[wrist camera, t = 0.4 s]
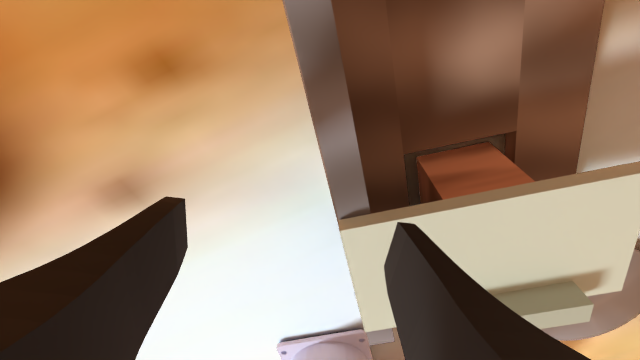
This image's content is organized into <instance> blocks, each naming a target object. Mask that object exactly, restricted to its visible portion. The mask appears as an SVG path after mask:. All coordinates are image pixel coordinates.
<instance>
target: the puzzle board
mask: <svg viewBox="0 0 640 360" xmlns="http://www.w3.org/2000/svg"><path fill="white" fill-rule="evenodd" d="M604 1H605V0H283V4H284V8H285V12H286V16H287V21H288V25H289V29H290V33H291V37H292V41H293V45H294V49H295V53H296V57H297V61H298V65H299V69H300V73H301V77H302V81H303V85H304V89H305V93H306V97H307V101H308V105H309V109H310V113H311V117H312V121H313V125H314V129H315V133H316V137H317V141H318V145H319V149H320V153H321V157H322V161H323V165H324V169H325V173H326V177H327V181H328V185H329V189H330V193H331V197H332V201H333V205H334V209H335V213H336V217H337V221H338V220H342V219H347V218H352V217H357V216H362V215H367V214H372V213H377V212H383V211H388V210H393V209H398V208H403V207H408V206H409V198H408V189H407V181H406V172H405V163H404V154H408V153H413V152H418V151H423V150H427V149H432V148H437V147H442V146H446V145H451V144H456V143H461V142H466V141H470V140H475V139H480V138H485V137H489V136H494V135H499V134H504V133H506V139H505V156H506V157H507V158H508V159H509V160H511V161H512V162H513V163H514V164H515V165H516V166H518V167H519V168H520V169H521V170H522V171H523V172H525V173H526V174H527V175H528V176H529V177H530V178H532V179H533V180H534V181H535V182H536V181H541V180H546V179H552V178H557V177H562V176H567V175H572V174H576V169H577V163H578V157H579V151H580V145H581V139H582V133H583V127H584V121H585V115H586V109H587V103H588V97H589V91H590V85H591V79H592V73H593V67H594V61H595V55H596V49H597V43H598V37H599V31H600V25H601V19H602V13H603V7H604ZM338 225H339V222H338ZM366 334H367V338H368V342H369V346H370V345H376V344H383V343H389V342H395V341H394V336H393V331H392V328H389V329H383V330H377V331H370V332H366Z"/></svg>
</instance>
